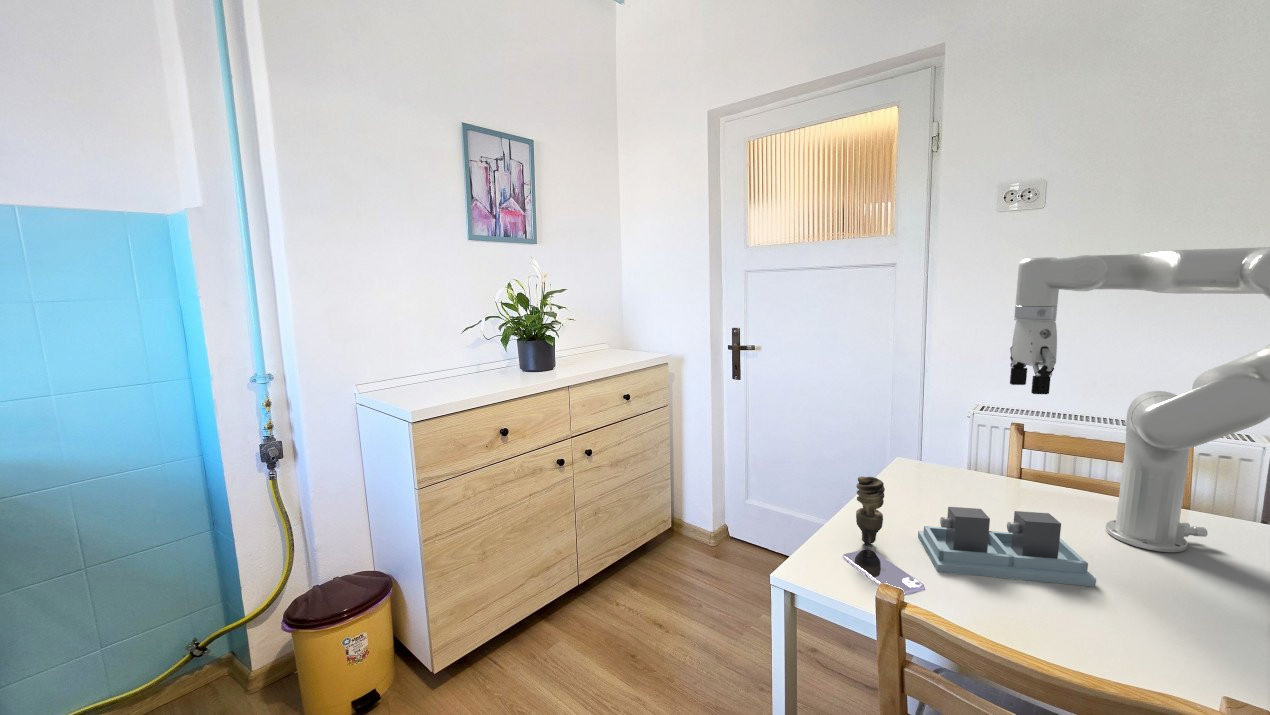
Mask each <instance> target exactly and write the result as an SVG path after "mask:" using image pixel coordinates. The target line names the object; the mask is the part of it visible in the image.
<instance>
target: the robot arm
mask: <svg viewBox="0 0 1270 715" xmlns="http://www.w3.org/2000/svg"><path fill="white" fill-rule="evenodd" d="M1060 290H1064V291H1072V292H1073V291H1074V292H1090V291H1093V290H1123V291H1124V290H1125V291H1127V290H1130V291H1131V290H1133V291H1134V290H1135V291H1147V292H1151V293H1153V292H1154V293H1159V294H1176V295H1177V294H1178V295H1181V294H1184V295H1185V294H1187V295H1188V294H1191V295H1193V294H1204V295H1205V294H1207V295H1209V294H1213V295H1214V294H1218V295H1219V294H1222V295H1223V294H1226V295H1227V294H1228V295H1229V294H1232V295H1233V294H1237V295H1238V294H1240V295H1241V294H1244V295H1245V294H1247V295H1250V294H1251V295H1252V294H1253V295H1254V294H1256V295H1261V294H1262V295H1264V296H1265V297H1267V298H1268V299H1269V300H1270V246H1269V247H1268V246H1267V247H1266V246H1264V247H1263V246H1261V247H1235V248H1233V247H1232V248H1203V249H1202V248H1199V249H1198V248H1197V249H1196V248H1195V249H1194V248H1193V249H1174V250H1173V249H1172V250H1163V251H1157V252H1156V251H1155V252H1147V253H1132V254H1131V253H1130V254H1129V253H1128V254H1104V255H1102V254H1098V255H1097V254H1096V255H1089V254H1084V255H1083V254H1082V255H1076V256H1069V257H1062V258H1061V257H1060V258H1057V257H1050V256H1049V257H1047V256H1046V257H1029V258H1028V257H1026V258H1024V259H1022V260H1021V261H1020V262H1019V264H1018V271H1017V282H1016V294H1015V306H1014V307H1015V308H1014V317H1013V318H1014V320H1013V321H1015V324H1014V330H1013V335H1012V341H1011V342H1012V343H1011V344H1012V345H1011V347H1010V348H1009V350H1010V357H1009V359H1010V361H1011V362H1010V364H1009V365H1010V376H1009V385H1011V386H1025V385H1026V384H1027V378H1028V368H1027V367H1026V366H1029V367H1032V369H1033V372H1034V375H1032V380H1031V394H1033V395H1049V394H1050V387H1051V378H1052V376H1053V371H1054V370H1055V366H1056V363H1057V352H1058V350H1057V349H1058V330H1057V322H1056V321H1057V313H1058V304H1059V303H1058V302H1059V294H1060V293H1059V292H1060ZM1269 418H1270V344H1268V345H1265V346H1264V347H1261V348H1259V349H1257V350H1255V351H1253V352H1250V353H1248V354H1246V355H1243V356H1241V357H1238V358H1236V359H1234V360H1231V361H1228V362H1226V363H1224V364H1221V365H1219V366H1215V367H1213V368H1210V369H1208V370H1206V371H1203V372H1202V373H1201V374H1199V375H1197V377H1196V378H1195V380H1194V381H1193V384H1192V389H1191V390H1188V391H1185V392H1183V393H1180V394H1175V393H1172V392H1169V391H1166V390H1165V391H1163V390H1152V391H1146V392H1144V393H1142V394H1140V395H1138V396H1137V397H1135V398H1134V399H1133V400H1132V401H1131V403H1130V404H1129V406H1128V408H1127V412H1126V420H1125V421H1126V425H1125V426H1126V429H1125V444H1124V452H1123V453H1124V456H1123V463H1122V469H1121V470H1122V471H1121V477H1120V486H1119V492H1118V493H1119V494H1118V503H1117V509H1116V510H1117V511H1116V519H1113V520H1110V521H1108V522H1106V523H1105V531H1106V532H1107V534H1109V535H1110V536H1111V537H1113V538H1114V539H1117V540H1118V541H1121V542H1123V543H1125V544H1128V545H1131V546H1134V547H1137V548H1140V549H1145V550H1147V551H1154V552H1161V553H1179V552H1180V553H1181V552H1184V551H1186V550H1187V548H1188V541H1187V540H1186V539H1185V538H1188V537H1189V536H1193V537H1200V538H1201V537H1203V538H1206V537H1207V536H1208V535H1209V534H1208V533H1209V532H1208V530H1207V528H1205V527H1203V526H1193V525H1192V526H1191V525H1190V523H1189V522H1185V521H1181V520H1180V519H1181V514H1182V506H1183V500H1184V493H1185V484H1186V477H1187V473H1188V465H1189V456H1190V449H1192V448H1195V447H1198V446H1201V445H1205V444H1207V443H1210V442H1212V441H1216V440H1219V439H1221V438H1224V437H1227V436H1230V435H1232V434H1235V433H1237V432H1241V431H1243V430H1247V429H1249V428H1251V427H1254V426H1256V425H1259V424H1261V423H1263V422H1265V421H1266V420H1268V419H1269Z"/></svg>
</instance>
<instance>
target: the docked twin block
mask: <svg viewBox="0 0 1270 715" xmlns="http://www.w3.org/2000/svg"><path fill="white" fill-rule="evenodd" d="M939 521H940V522H939V523H940V524H939V525H940V527H942V528H947V531H946V544H947V546H948V547H949V549H950V550H959V551H970V552H982V553H987V549H988V537H989V531H990V522H991V518H990V517H989V516H988V515H987V514H986V512H984V510H983V509H982V508H976V507H975V508H973V507H961V506H960V507H958V506H948V507H947V517H944V516H942V517H940V519H939Z"/></svg>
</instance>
